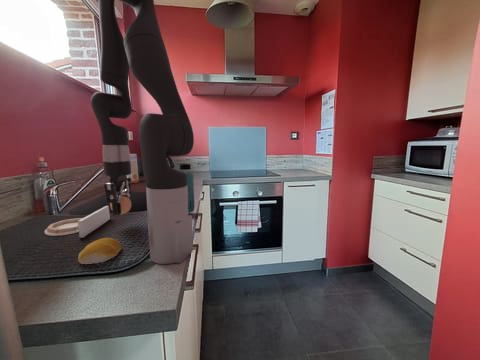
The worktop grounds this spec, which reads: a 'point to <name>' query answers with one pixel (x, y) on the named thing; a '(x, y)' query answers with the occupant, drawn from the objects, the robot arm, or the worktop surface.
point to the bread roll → (99, 251)
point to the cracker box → (133, 169)
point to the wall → (93, 221)
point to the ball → (124, 204)
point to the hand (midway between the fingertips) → (121, 211)
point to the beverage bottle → (189, 186)
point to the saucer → (63, 227)
